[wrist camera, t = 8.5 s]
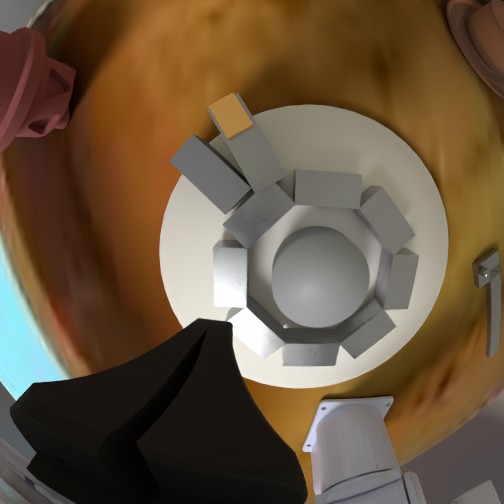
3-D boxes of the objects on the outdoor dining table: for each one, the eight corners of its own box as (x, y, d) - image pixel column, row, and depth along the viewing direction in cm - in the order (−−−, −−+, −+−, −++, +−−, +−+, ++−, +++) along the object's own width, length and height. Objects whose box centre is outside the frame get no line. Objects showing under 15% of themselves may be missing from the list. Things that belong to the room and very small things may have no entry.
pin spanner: (494, 346, 20) (503, 356, 18) (475, 361, 21) (484, 371, 19) (492, 247, 17) (506, 253, 15) (471, 262, 18) (485, 270, 16)
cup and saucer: (527, 75, 11) (560, 68, 5) (502, 128, 14) (546, 125, 8) (459, -9, 10) (485, -30, 4) (419, 24, 13) (452, -6, 7)
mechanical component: (92, 145, 18) (23, 160, 18) (107, 39, 15) (35, 70, 16) (-37, 143, 6) (-74, 173, 6) (12, -14, 3) (-51, 53, 4)
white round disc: (400, 380, 21) (413, 405, 18) (171, 367, 23) (158, 394, 19) (457, 142, 15) (486, 140, 12) (170, 102, 16) (148, 88, 13)
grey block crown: (413, 127, 15) (444, 118, 11) (383, 347, 19) (400, 378, 15) (220, 109, 15) (205, 91, 12) (221, 346, 20) (211, 380, 16)
